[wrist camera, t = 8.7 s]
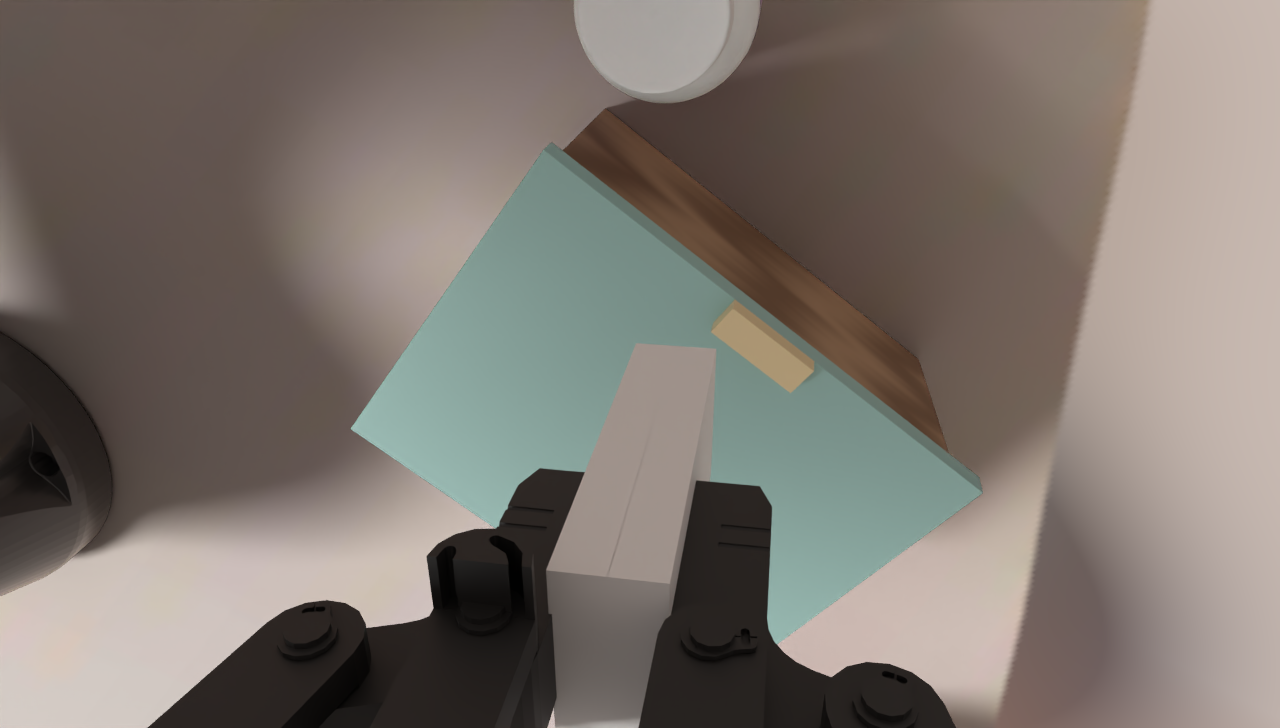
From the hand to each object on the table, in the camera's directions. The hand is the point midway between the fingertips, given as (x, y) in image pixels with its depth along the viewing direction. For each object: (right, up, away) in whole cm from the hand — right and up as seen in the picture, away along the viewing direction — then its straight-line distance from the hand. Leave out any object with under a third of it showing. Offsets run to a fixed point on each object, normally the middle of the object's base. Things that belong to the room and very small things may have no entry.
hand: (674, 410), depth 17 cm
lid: (0, -2, +13) cm, 13 cm away
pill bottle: (+1, +14, +14) cm, 20 cm away
